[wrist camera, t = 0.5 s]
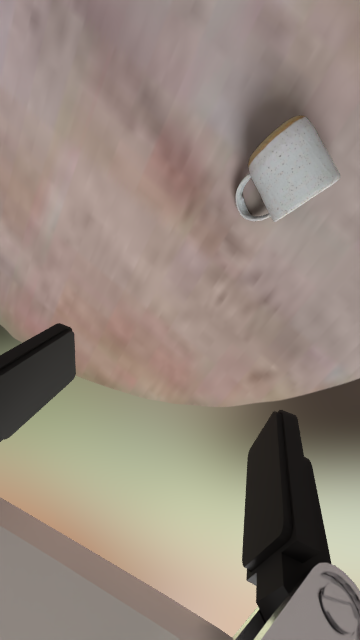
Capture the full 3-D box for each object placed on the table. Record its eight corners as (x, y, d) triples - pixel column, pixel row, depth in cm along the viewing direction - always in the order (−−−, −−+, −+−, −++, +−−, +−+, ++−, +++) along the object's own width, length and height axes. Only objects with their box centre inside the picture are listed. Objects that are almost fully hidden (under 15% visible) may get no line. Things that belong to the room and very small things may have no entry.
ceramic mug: (299, 121, 27) (310, 93, 20) (331, 182, 28) (351, 175, 22) (224, 186, 32) (214, 181, 26) (255, 235, 34) (252, 242, 27)
